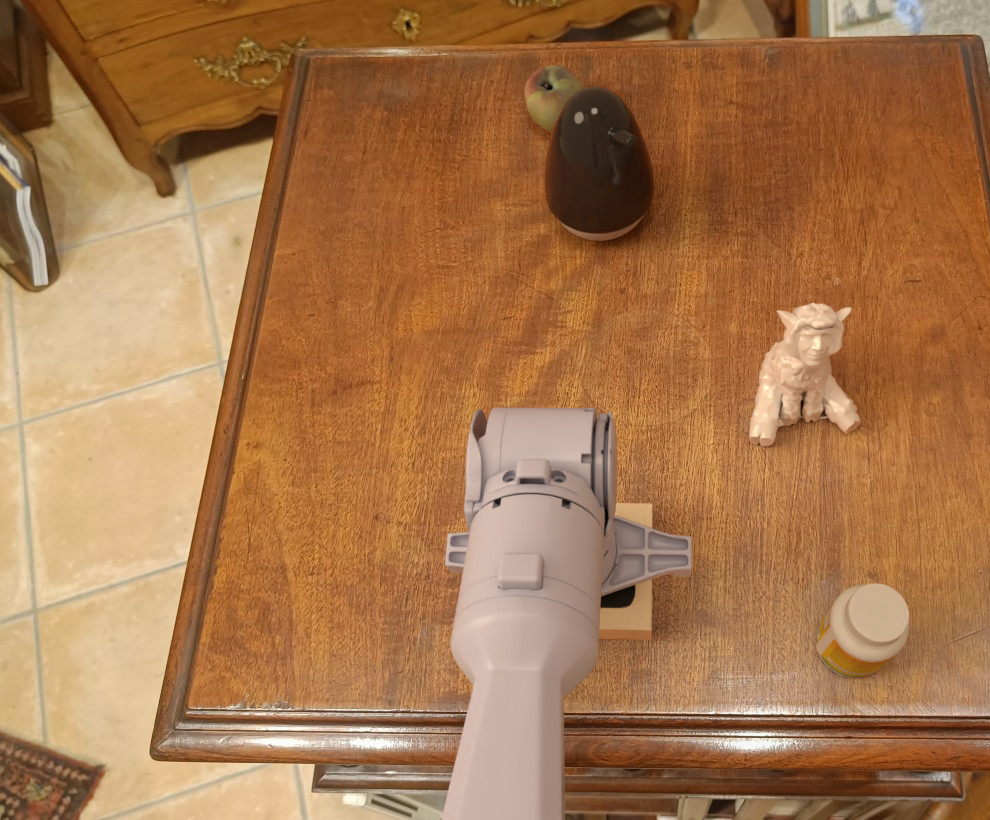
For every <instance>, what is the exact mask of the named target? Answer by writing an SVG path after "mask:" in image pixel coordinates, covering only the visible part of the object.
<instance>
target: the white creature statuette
mask: <svg viewBox="0 0 990 820" xmlns="http://www.w3.org/2000/svg"><path fill="white" fill-rule="evenodd" d="M775 312H776V313H777V314H778V316H779V319H780V321H781V323H782V324H783V326H784V327H785V330H784V333H783V338H782V340H781V341H776V342H775V343H774V345H771V348H770V350H769V351H766V353H765V356H764V358H763V359H764V360H763V361H762V362H761V363H762V364H761V368H760V369H759V372H758V380H757V384H758V385H759V386H758V387H757V392H756V395H755V397H754V404H755V407H754V409H753V410H752V413H751V417H750V420H749V424H750V425H749V432H748V441H749V443H750V444H752V445H755V446H758V445H760V446H761V447H769V446H772V445H773V444H774V443H775V440H776V438H777V431H778V429H779V428H782V427H785V426H786V427H790V426H791V425H792V424H793V426H795V425H796V424H797V423H798V422H799V420H801V419H803V420H804V421H805V422H806V423H808V424H809V423H810V422H811V421H812V423H813V424H814V423H816V422H817V421H823V420H828V421H830V422H831V423H833V424H836V426H837V427H838V428H839V430H841V432H843V433H844V435H849V434H850V433H853V432H854V431H855V430H856V429H857V428H858V427H859V426H860V425H861V423H862V419H861V417H860V415H859V414H858V413H857V411H858V406H856V404H854V400H853V399H852V398H850V397H849V396H848V395H847V393H846V392H845V391H843V389H842V388H841V386H840V385H839V384H838V382H837V379H836V378H835V377H834V376H833V374H832V373H833V369H832V364H831V362H832V361H831V358H830V357H831V356H832V355H834V354H836V353H838V352H839V351H840V350H841V349H842V348H843V337H842V336H843V333H844V330H845V323H844V322H843V321H844V320H845V319H846V318H847V317H848V316H849V315H850V314H851V312H852V307H850V306H847V307H843V308H840V309H838V310H837V311H835V310H834V308H833V307H832V306H829V305H828V304H825V303H822V302H820V303H816V302H811V303H808V304H804V305H799V306H797V307H795V308H794V309H793V311H792V312H791V311H789V310H788V311H787V310H783V309H778V310H775ZM802 401H803V406H802ZM801 406H802V408H801ZM823 412H824V414H825V415H824V416H821V415H822V413H823Z"/></svg>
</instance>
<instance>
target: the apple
mask: <svg viewBox="0 0 990 820" xmlns="http://www.w3.org/2000/svg"><path fill="white" fill-rule="evenodd" d="M584 88H585V87H584V86H583V84H582V82H581V81H580V79H579V77H577V75H576V74H575V73H574V72H573V71H571V70H570V69H569V68H567V67H565V66H563V65H560V64H556V65H555V64H554V65H553V64H552V65H550V64H549V65H542V66H541V67H538V69H536V70H535V71H534V72H533V73H532V74H531V75H530V76H529V78H527V80H526V82H525V85H524V91H523V95H524V101H525V107H526V109H527V112H528V114H529V115H530V117H531V119H532V121H533V122H534V123H535V124H536V125H537V126H539V127H541V128H542V129H544V130H545V131H547V132H548V133H550V134H552V131H553V128H554V125H555V122H556V120H557V118H558V116H559V113H560V112H561V110H562V108H563V107H564V105H565V104H566V102H567V101H568V100H569V99H570V97H571V96H573V95H574V94H575V93H576V92H578V91H579V90H581V89H584Z"/></svg>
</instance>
